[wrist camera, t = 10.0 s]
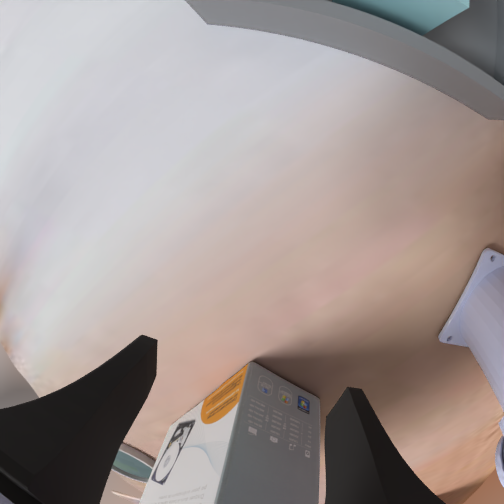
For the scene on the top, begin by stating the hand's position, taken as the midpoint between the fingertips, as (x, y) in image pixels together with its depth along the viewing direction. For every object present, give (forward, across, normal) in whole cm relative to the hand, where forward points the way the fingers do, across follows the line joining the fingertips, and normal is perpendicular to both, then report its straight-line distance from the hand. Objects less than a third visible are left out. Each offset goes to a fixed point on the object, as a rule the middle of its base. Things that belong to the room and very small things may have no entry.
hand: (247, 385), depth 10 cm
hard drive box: (+10, -1, +16) cm, 19 cm away
